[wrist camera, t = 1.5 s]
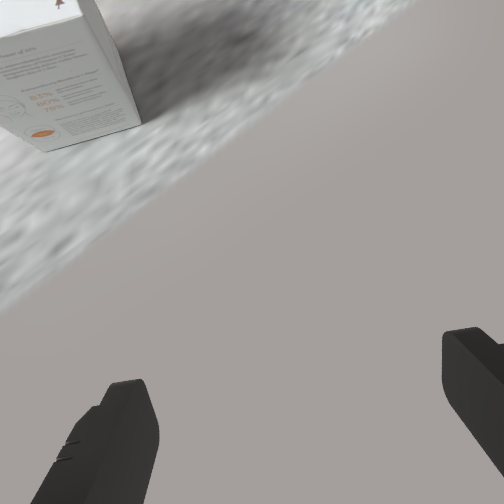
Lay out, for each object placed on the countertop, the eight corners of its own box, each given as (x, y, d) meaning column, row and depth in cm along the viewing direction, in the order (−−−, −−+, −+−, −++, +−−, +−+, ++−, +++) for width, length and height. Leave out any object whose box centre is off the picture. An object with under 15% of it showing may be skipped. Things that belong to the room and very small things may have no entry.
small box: (118, 49, 28) (38, -127, 15) (143, 125, 28) (87, 16, 15) (14, 75, 27) (-165, -88, 14) (41, 155, 27) (-111, 64, 14)
